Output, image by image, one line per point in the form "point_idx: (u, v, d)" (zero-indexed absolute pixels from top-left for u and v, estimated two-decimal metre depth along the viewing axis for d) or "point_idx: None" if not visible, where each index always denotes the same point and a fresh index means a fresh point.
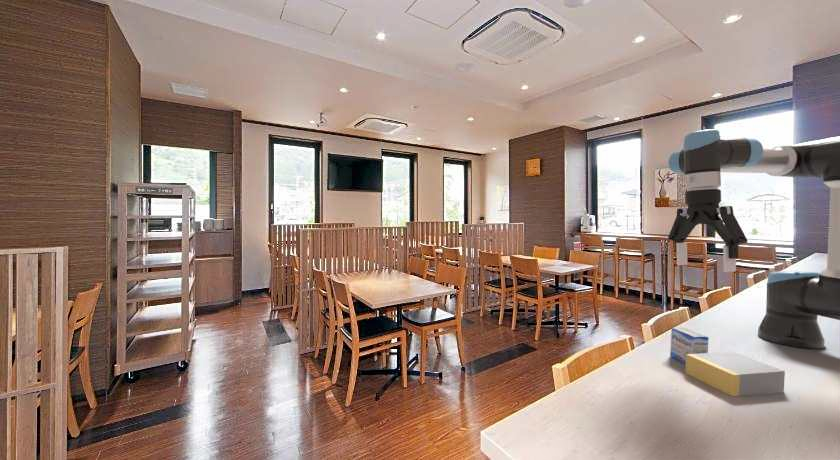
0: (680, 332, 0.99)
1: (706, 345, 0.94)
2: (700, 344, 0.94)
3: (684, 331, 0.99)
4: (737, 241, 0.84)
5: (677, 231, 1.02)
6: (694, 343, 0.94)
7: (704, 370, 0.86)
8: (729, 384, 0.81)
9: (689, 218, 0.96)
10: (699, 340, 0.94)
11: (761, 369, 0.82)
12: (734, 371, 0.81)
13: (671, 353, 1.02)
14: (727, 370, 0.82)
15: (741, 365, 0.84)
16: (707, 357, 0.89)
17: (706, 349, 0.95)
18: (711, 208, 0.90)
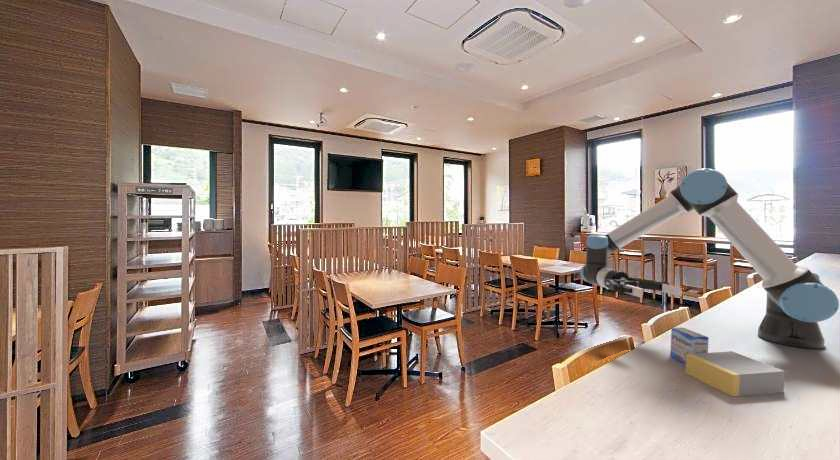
0: (680, 332, 0.99)
1: (706, 345, 0.94)
2: (700, 344, 0.94)
3: (684, 331, 0.99)
4: (614, 291, 1.14)
5: None
6: (694, 343, 0.94)
7: (704, 370, 0.86)
8: (729, 384, 0.81)
9: None
10: (699, 340, 0.94)
11: (761, 369, 0.82)
12: (734, 371, 0.81)
13: (671, 353, 1.02)
14: (727, 370, 0.82)
15: (741, 365, 0.84)
16: (707, 357, 0.89)
17: (706, 349, 0.95)
18: None
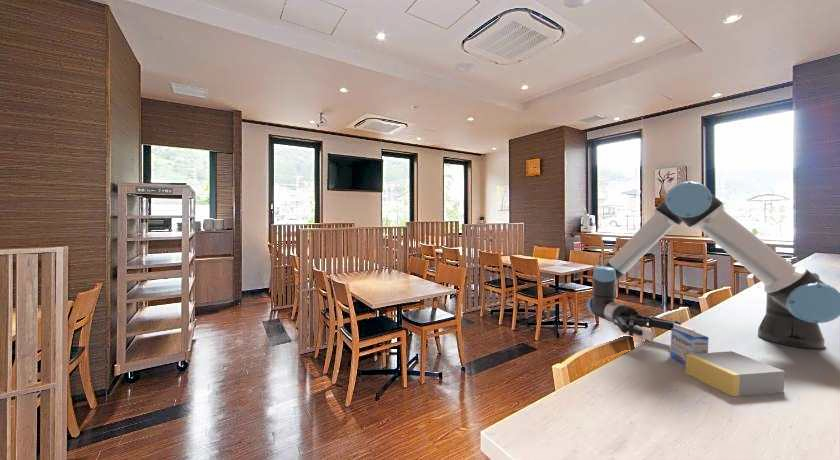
0: (680, 332, 0.99)
1: (706, 345, 0.94)
2: (700, 344, 0.94)
3: (684, 331, 0.99)
4: (623, 332, 1.09)
5: None
6: (694, 343, 0.94)
7: (704, 370, 0.86)
8: (729, 384, 0.81)
9: None
10: (699, 340, 0.94)
11: (761, 369, 0.82)
12: (734, 371, 0.81)
13: (671, 353, 1.02)
14: (727, 370, 0.82)
15: (741, 365, 0.84)
16: (707, 357, 0.89)
17: (706, 349, 0.95)
18: None
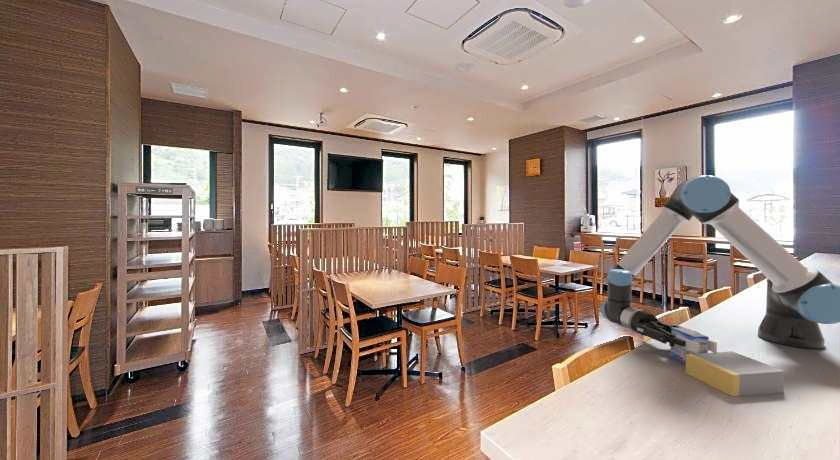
0: (680, 332, 0.99)
1: (706, 345, 0.95)
2: (700, 344, 0.94)
3: (684, 331, 0.99)
4: (664, 343, 1.00)
5: None
6: None
7: (704, 370, 0.86)
8: (729, 384, 0.81)
9: None
10: (699, 340, 0.94)
11: (761, 369, 0.82)
12: (734, 371, 0.81)
13: (671, 353, 1.02)
14: (727, 370, 0.82)
15: (741, 365, 0.84)
16: (707, 357, 0.89)
17: (706, 349, 0.95)
18: None
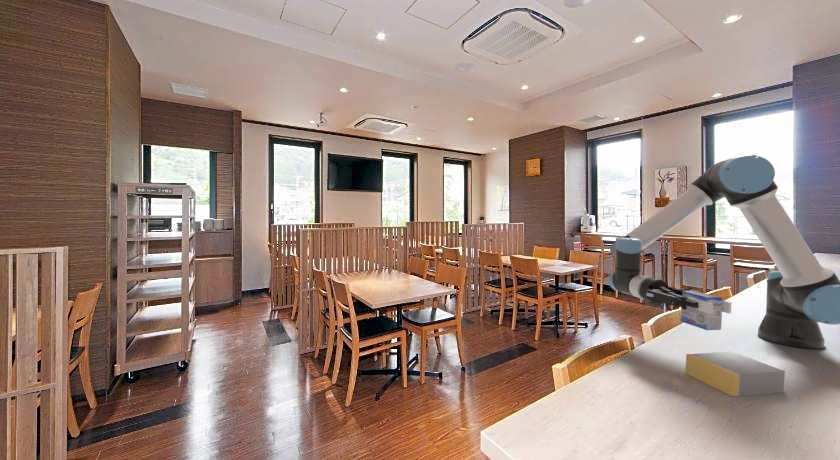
0: (692, 294, 0.94)
1: (720, 306, 0.90)
2: (714, 305, 0.90)
3: (696, 293, 0.94)
4: None
5: None
6: None
7: (704, 370, 0.86)
8: (729, 384, 0.81)
9: None
10: (713, 301, 0.90)
11: (761, 369, 0.82)
12: (734, 371, 0.81)
13: (682, 317, 0.97)
14: (727, 370, 0.82)
15: (741, 365, 0.84)
16: (707, 357, 0.89)
17: (720, 311, 0.90)
18: None
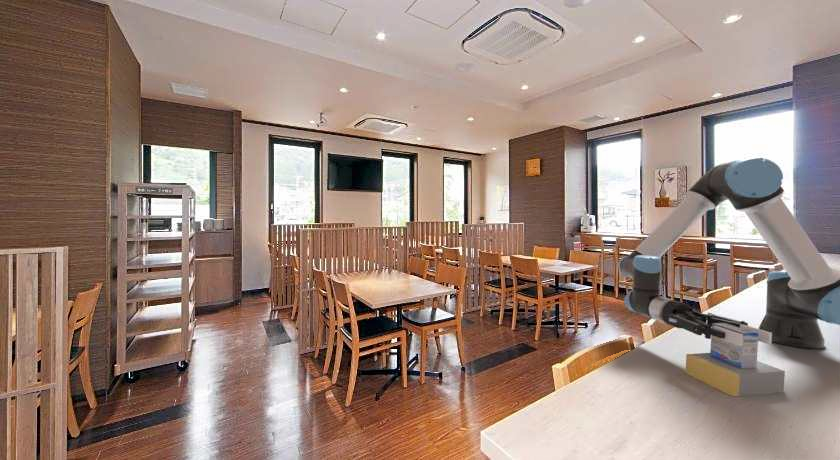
0: (724, 328, 0.87)
1: (756, 342, 0.83)
2: (749, 341, 0.82)
3: (728, 327, 0.87)
4: (698, 334, 0.88)
5: None
6: (744, 340, 0.82)
7: (704, 370, 0.86)
8: (729, 384, 0.81)
9: None
10: (748, 337, 0.82)
11: (761, 369, 0.82)
12: (734, 371, 0.81)
13: (712, 352, 0.90)
14: (727, 370, 0.82)
15: None
16: (707, 357, 0.89)
17: (756, 347, 0.83)
18: None
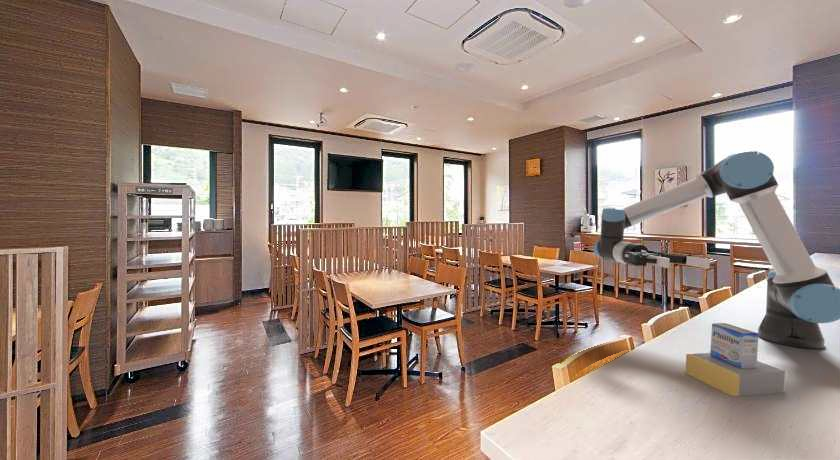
0: (724, 328, 0.87)
1: (756, 342, 0.83)
2: (749, 341, 0.82)
3: (728, 327, 0.87)
4: (636, 262, 1.05)
5: None
6: (744, 340, 0.82)
7: (704, 370, 0.86)
8: (729, 384, 0.81)
9: None
10: (748, 337, 0.82)
11: (761, 369, 0.82)
12: (734, 371, 0.81)
13: (712, 352, 0.90)
14: (727, 370, 0.82)
15: None
16: (707, 357, 0.89)
17: (756, 347, 0.83)
18: None
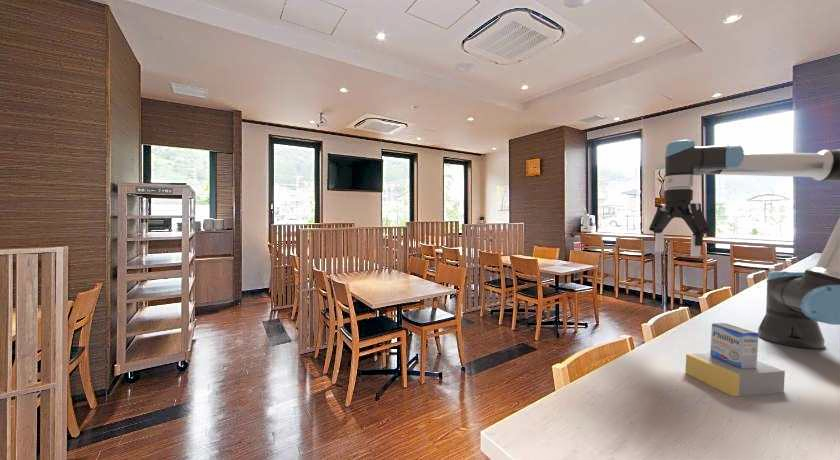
0: (724, 328, 0.87)
1: (756, 342, 0.83)
2: (749, 341, 0.82)
3: (728, 327, 0.87)
4: (702, 231, 1.04)
5: (656, 223, 1.22)
6: (744, 340, 0.82)
7: (704, 370, 0.86)
8: (729, 384, 0.81)
9: (666, 212, 1.16)
10: (748, 337, 0.82)
11: (761, 369, 0.82)
12: (734, 371, 0.81)
13: (712, 352, 0.90)
14: (727, 370, 0.82)
15: None
16: (707, 357, 0.89)
17: (756, 347, 0.83)
18: (684, 204, 1.11)
